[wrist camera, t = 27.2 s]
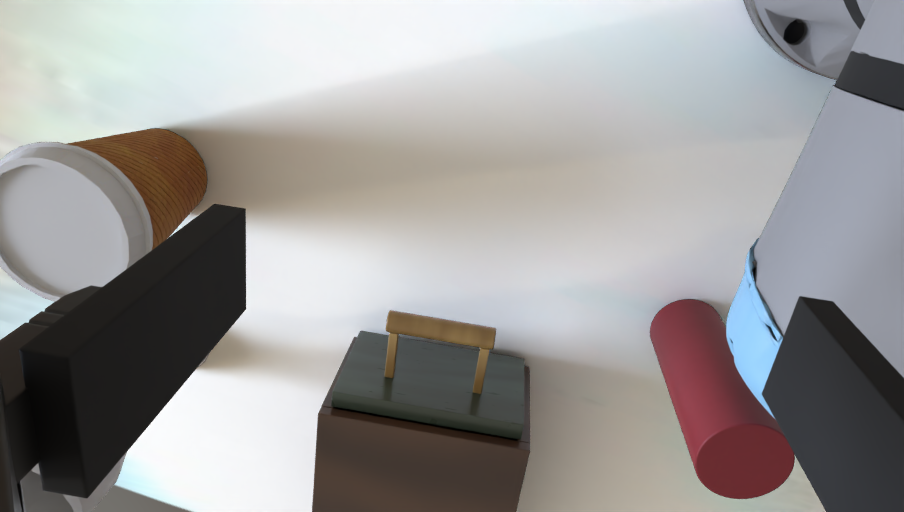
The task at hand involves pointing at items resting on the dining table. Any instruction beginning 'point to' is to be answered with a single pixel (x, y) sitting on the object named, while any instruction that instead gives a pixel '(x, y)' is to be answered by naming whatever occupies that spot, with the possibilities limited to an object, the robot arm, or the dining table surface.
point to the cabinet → (414, 464)
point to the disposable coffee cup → (93, 206)
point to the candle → (717, 405)
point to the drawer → (434, 377)
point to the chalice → (56, 508)
